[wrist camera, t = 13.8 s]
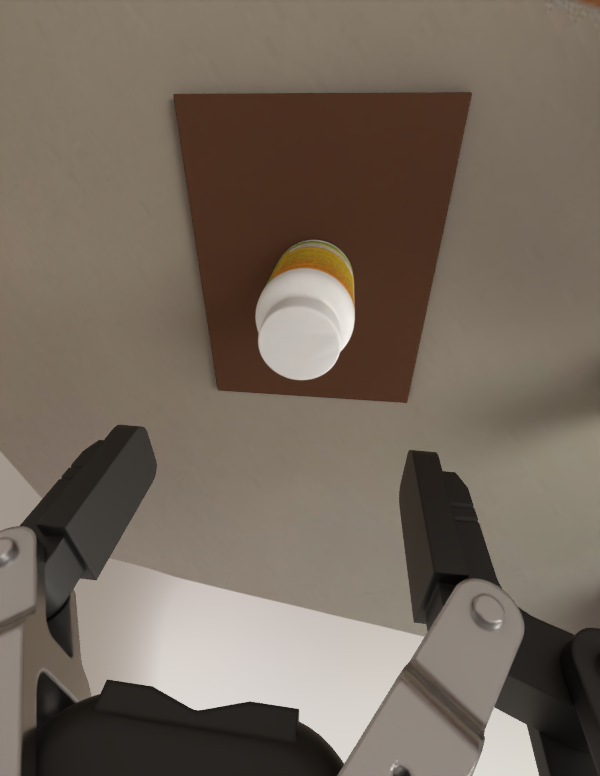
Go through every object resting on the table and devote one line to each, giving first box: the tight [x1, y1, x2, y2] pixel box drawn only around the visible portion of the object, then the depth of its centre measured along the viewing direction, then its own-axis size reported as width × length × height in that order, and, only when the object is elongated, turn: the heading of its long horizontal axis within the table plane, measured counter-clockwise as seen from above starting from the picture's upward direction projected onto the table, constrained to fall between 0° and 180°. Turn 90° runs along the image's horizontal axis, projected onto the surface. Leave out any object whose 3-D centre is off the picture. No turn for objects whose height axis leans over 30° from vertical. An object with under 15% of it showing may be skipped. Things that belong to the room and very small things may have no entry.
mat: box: [174, 92, 472, 403], centre depth 26 cm, size 20×16×1 cm
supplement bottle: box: [255, 240, 355, 380], centre depth 21 cm, size 5×5×10 cm
